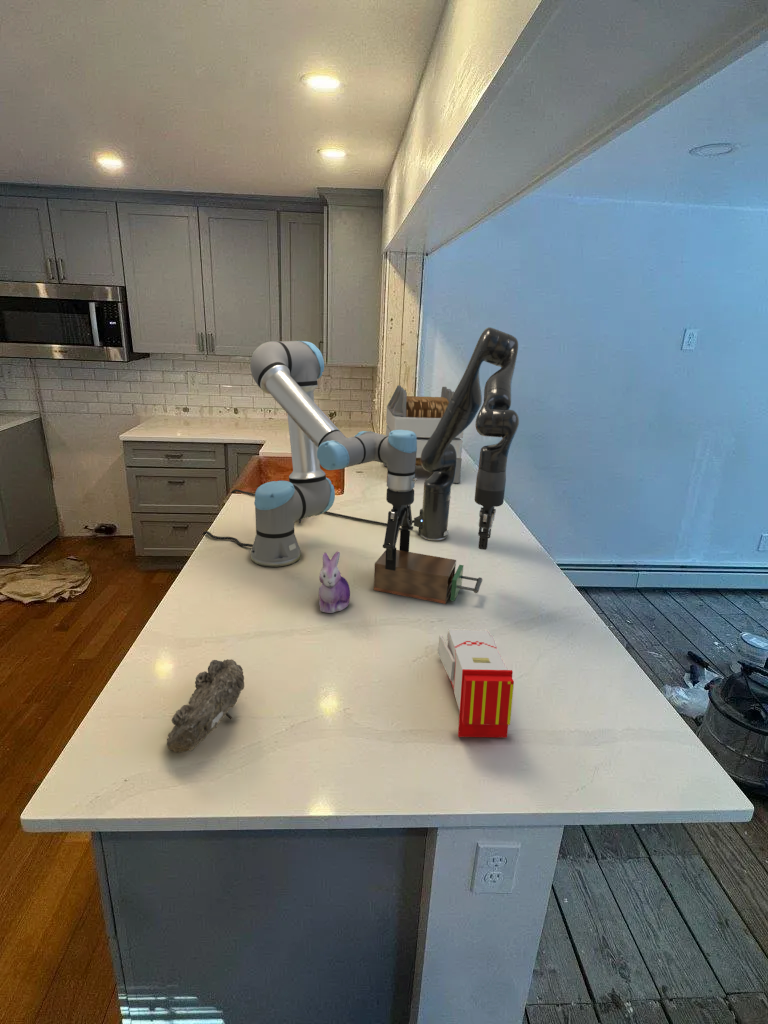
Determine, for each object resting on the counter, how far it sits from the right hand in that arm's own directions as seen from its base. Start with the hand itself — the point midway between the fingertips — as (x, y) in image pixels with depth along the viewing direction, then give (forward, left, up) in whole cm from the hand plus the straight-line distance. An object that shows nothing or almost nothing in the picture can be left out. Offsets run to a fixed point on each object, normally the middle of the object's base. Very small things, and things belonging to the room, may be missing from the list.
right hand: (484, 543), depth 153 cm
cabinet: (-17, -7, -16) cm, 24 cm away
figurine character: (-80, +11, -16) cm, 82 cm away
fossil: (-18, -77, -16) cm, 81 cm away
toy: (+18, -39, -16) cm, 46 cm away
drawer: (-11, -6, -15) cm, 20 cm away
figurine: (-28, -30, -16) cm, 44 cm away
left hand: (-22, -9, -8) cm, 25 cm away
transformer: (-79, +96, -16) cm, 125 cm away
